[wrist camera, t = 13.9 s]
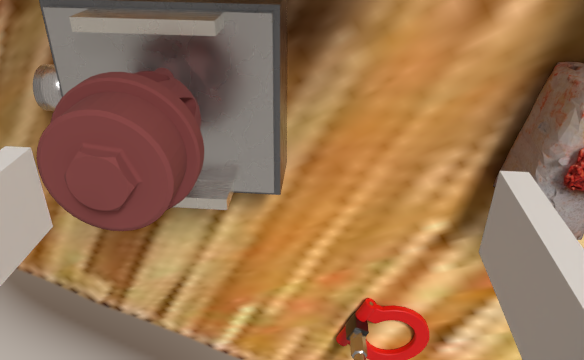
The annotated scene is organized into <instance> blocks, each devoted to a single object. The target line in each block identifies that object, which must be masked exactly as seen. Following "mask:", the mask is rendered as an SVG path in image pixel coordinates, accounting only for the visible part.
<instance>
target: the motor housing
mask: <svg viewBox="0 0 584 360" xmlns="http://www.w3.org/2000/svg"><path fill="white" fill-rule="evenodd" d="M39 2H40V6H41V10H42V15H43V19H44V23H45V27H46V32H47V36H48V40H49V44H50V49H51V53H52V57H53V61H54V65H49V64H43V65H41V66H39V67H38V68H37V70H36V72H35V74H34V79H33V92H34V96H35V99H36V101H37V103H38V105H39V106H40V107H41V108H42V109H43V110H47V111H54V110H55V108H56V106H57V104H58V103H59V101H60V100H61V98H62V97H63V96H64V95H65V94H66V93H67V92H68V91H69V90H71V89H72V88H73V87H75V86H76V85H78V84H79V83H80V82H82V81H84V80H86V79H87V78H89V77H92V76H95V75H98V74H101V73H107V72H127V73H136V72H140V71H155V70H156V69H157V68H167V69H168V70H170V71H171V72H172V74H173V76H174V78H175V79H177V80H179V81H180V82H181V83H182V84H184V85H185V86H186V87H187V88H188V90H189V91H190V92H191V93H192V95H193V96H194V98H195V99H196V102H197V104H198V106H199V110H200V114H201V126H200V131H201V134H202V137H203V143H204V161H203V167H202V170H201V172H200V175H199V177H198V179H197V181H196V183H195V185H194V187H193V188H192V190H191V191H190V193H189V194H188V195H187V196H186V197H185V198H184V199H183V200H182V201H181V202H179V203H178V204H177V205H175V206H173V207H181V208H199V209H218V210H227V209H228V207H229V204H230V201H231V198H232V195H233V193H234V192H235V193H255V194H275V195H280V194H281V189H282V184H283V179H284V174H285V169H286V163H287V0H39Z"/></svg>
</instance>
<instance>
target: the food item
mask: <svg viewBox="0 0 584 360" xmlns="http://www.w3.org/2000/svg"><path fill="white" fill-rule="evenodd" d="M500 171H516V172H529V173H530V174H531V176H532V177H533V179H534V180H535V181H536V183H537V184H538V186H539V187H540V188H541V190H542V191H543V193H544V194H545V196H546V197H547V198H548V200H549V201H550V203H551V204H552V205H553V207H554V208H555V210H556V211H557V212H558V214H559V215H560V217H561V218H562V219H563V221H564V222H565V224H566V225H567V226H568V228H569V229H570V231H571V232H572V233H573V235H574V236H575V238H576V239H577V240H581V239H582V237H583V234H584V63H580V62H558V63H557V65H556V66H555V67H554V69H553V71H552V73H551V75H550V76H549V78H548V80H547V81H546V83H545V85H544V87H543V88H542V90H541V92H540V94H539V96H538V98H537V100H536V102H535V104H534V106H533V108H532V110H531V112H530V114H529V116H528V118H527V120H526V121H525V123H524V125H523V127H522V129H521V131H520V132H519V134H518V136H517V138H516V140H515V142H514V144H513V146H512V148H511V149H510V151H509V154H508V156H507V158H506V160H505V162H504V164H503V166H502V168H501V170H500ZM498 175H499V174H498ZM497 179H498V176H497V178H496V179H495V182H494V185H493V187H495V186H496V183H497Z"/></svg>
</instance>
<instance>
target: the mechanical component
mask: <svg viewBox="0 0 584 360" xmlns="http://www.w3.org/2000/svg"><path fill="white" fill-rule="evenodd" d="M200 126H201V114H200V110H199V106H198V104H197V102H196V99H195V98H194V96H193V95H192V93H191V92H190V91H189V90H188V88H187V87H186V86H185V85H184V84H182V83H181V82H180V81H179V80H177V79H175V78H174V76H173V74H172V72H171V71H170V70H168V69H167V68H157V69H156V70H155V71H140V72H136V73H127V72H107V73H101V74H98V75H95V76H92V77H89V78H87V79H86V80H84V81H82V82H80V83H79V84H78V85H76V86H75V87H73V88H72V89H71V90H69V91H68V92H67V93H66V94H65V95H64V96H63V97H62V98H61V100H60V101H59V103H58V104H57V106H56V108H55V110H54V112H53V115H52V119H51V123H50V124H49V125H48V127H47V128H46V129H45V130H44V132H43V134H42V136H41V138H40V140H39V144H38V148H37V164H38V169H39V173H40V176H41V178H42V181H43V183H44V185H45V187H46V188H47V190H48V191H49V193H50V194H51V196H52V197H53V198H54V199H55V200H56V202H57V203H58V204H59V205H60V206H62V207H63V208H64V209H65V210H66V211H67V212H69V213H70V214H71V215H73V216H74V217H76V218H78V219H79V220H81V221H83V222H85V223H87V224H90V225H92V226H95V227H98V228H102V229H106V230H112V231H129V230H135V229H139V228H143V227H145V226H147V225H150V224H151V223H153V222H154V221H156V220H157V219H158V218H159V217H160V216H161V215H163V213H164V212H165V211H166V210H168V209H170V208H171V207H173V206H175V205H177V204H178V203H179V202H181V201H182V200H183V199H184V198H185V197H186V196H187V195H188V194H189V193H190V191H191V190H192V188H193V187H194V185H195V183H196V181H197V179H198V177H199V175H200V172H201V170H202V167H203V161H204V143H203V137H202V134H201V131H200Z"/></svg>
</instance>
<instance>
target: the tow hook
mask: <svg viewBox="0 0 584 360" xmlns="http://www.w3.org/2000/svg"><path fill="white" fill-rule="evenodd" d="M367 320H368V321H370V322H373V323H379V322H382V321H386V320H397V321H402V322H404V323H407V324H408V325H410V326H411V327H412V328H413V329H414V337H413V339H412V340H411V341H410V342H409V343H408V344H407V345H405V346H403V347H401V348H398V349H394V350H384V349H379V348H376V347H374V346H372V345H371V344H370V343H369V342H368V341H367V339H366V335H367V334H368V333H369V331H368V323H367ZM336 340H337V342H338V343H339V344H340V345H342V346H346V345H347V344H350V347H351V356H352V358H353V359H354V360H366V358H367V359H370V360H408V359H410V358H412V357H414V356H416V355H417V354H419V353H420V352H421V351H422V350H423V349H424V348H425V347H426V345H427V343H428V340H429V329H428V326H427V323H426V321H425V320H424V318H423V317H422V316H421V315H420V314H418V313H417V312H415V311H414V310H411V309H408V308H405V307H400V306H383V307H382V306H379V305H377V304H376V302H375V301H374V300H372V299H370V298H367V299H366V300H365V301H364V303H363V304H362V305H361V306H360V308H359V309H358V310H357V311H356V312H354V314H353V315H352V316H351V318H350V319H349V320H348V321H347V323H346V325H345V327H344V328H343V329H342V331H341V332H340V333H339V334H338V336H337V337H336Z"/></svg>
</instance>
